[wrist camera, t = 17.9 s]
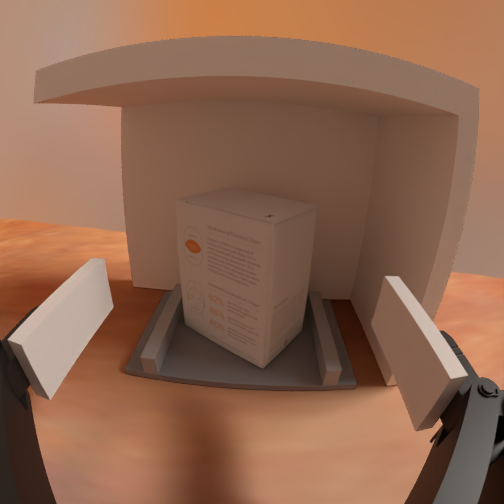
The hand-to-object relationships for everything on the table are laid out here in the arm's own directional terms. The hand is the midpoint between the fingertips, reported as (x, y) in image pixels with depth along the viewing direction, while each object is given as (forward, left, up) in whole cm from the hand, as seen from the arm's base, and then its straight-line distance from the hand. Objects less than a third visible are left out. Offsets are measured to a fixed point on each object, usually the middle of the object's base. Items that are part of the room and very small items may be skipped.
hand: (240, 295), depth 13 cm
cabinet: (+8, 0, -8) cm, 12 cm away
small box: (+8, 0, -8) cm, 11 cm away
